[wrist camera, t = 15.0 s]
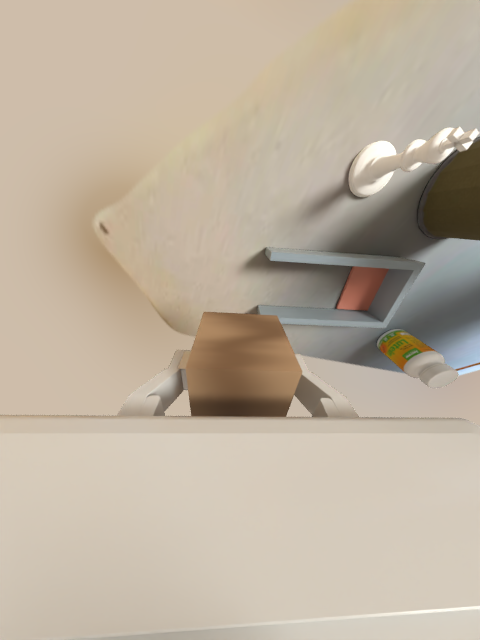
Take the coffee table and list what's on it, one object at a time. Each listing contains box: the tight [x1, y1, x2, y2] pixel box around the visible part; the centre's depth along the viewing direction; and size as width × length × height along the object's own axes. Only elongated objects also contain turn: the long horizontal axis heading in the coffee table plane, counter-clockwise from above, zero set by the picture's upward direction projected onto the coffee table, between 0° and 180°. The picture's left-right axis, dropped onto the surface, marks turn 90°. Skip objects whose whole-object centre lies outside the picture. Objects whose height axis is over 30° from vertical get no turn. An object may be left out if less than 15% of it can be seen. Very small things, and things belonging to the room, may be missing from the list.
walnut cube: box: [185, 312, 303, 417], centre depth 11 cm, size 5×5×5 cm
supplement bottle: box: [377, 329, 458, 388], centre depth 29 cm, size 5×5×10 cm
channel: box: [257, 247, 425, 328], centre depth 25 cm, size 20×10×4 cm, turn 86°
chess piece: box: [348, 127, 479, 197], centre depth 16 cm, size 5×5×10 cm
